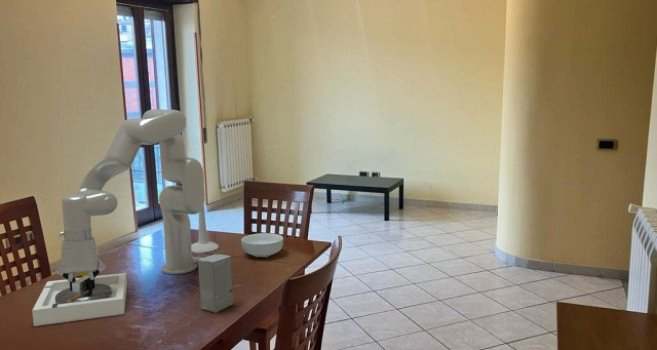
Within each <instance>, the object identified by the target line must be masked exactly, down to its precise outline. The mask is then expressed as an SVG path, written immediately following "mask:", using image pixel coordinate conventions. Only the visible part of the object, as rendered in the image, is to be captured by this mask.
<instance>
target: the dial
mask: <svg viewBox="0 0 657 350" xmlns="http://www.w3.org/2000/svg"><path fill="white" fill-rule="evenodd" d="M79 278H80V279H78V280H76V281H74V282H73V283H72V291H73V294H72V291H70V288H67V289H65V290H62V291H61V292H59V293H58V294H57V295H56V296H55V303H56V304H57V303H58V304H66V303H74V302H82V301H90V300H98V299H106V298H109V297H110V296H111V294H112V291H111V287H110V286H108V285H105V284H97V283H95V288H94V289H93V291H92V292H89V283H88V280H89V274H88V275H85V276H83V277H82V276H81V277H79Z"/></svg>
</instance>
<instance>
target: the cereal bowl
mask: <svg viewBox="0 0 657 350" xmlns="http://www.w3.org/2000/svg"><path fill="white" fill-rule="evenodd" d="M240 243H241V247H242V249H243V251H244V252H245V253H246V254H249V255H251V256H253V257H254V256H255V257H254V258H258V257H265V258H269V256H270V257H272V256H273V255H274V254H277V253H279V252H280V251H281V249H283V246H284V237H283V236H282V235H280V234H277V233H266V232H264V233H263V232H262V233H261V232H260V233H254V234H249V235H245V236H243V237H242V238H241V242H240ZM271 255H272V256H271Z"/></svg>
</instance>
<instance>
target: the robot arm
mask: <svg viewBox="0 0 657 350" xmlns="http://www.w3.org/2000/svg"><path fill="white" fill-rule="evenodd" d="M186 125H187V118H186V116H185V115H184V114H183V112H182V111H180V110H177V109H164V108H163V109H160V108H159V109H157V108H156V109H149V110H147V111H145V112H144V113H143V115H142V118H128V119H125V120H123V122H121V124H120V126H119V127H118V130H117V132H116V133H115V136H114V138H113V139H112V142H111V144H110V146H109V148H108V150H107V151H106V154H105V156H104V157H103V158H102V159H101V160H100V161H98V163H97V164H95V165H94V166H93V167H92V168H91V169H90V170H89V171H88V173H87V174H86V175H85V176H84V178H83V180H82V181H81V184H80V185H79V187H78V189H77V192H76V194H69V195H66V196H64V197H63V198H62V200H61V207H62V219H63V220H62V221H63V222H62V223H63V229H64V230H63V231H61V232H60V231H59V232H58V234H59V235H58V236H59V237H60V238H63V240H62V241H61V251H60V260H61V261H60V264H59V266H58V268H57V270H56V271H55V274H57V275H60V276H62V277H63V278H65V280H66V279H67V280H68V281H69V282H70V291H72V283H73V282H74V281H76V279H75V274H77V273H80V272H88V275H89V280H88V283H89V292H92V291H93V289H94V288H95V280H94V278H95V277H96V276H99V274H100V273H101V272H102V271H105V269H106V267H107V266H106V265H105V263H104V262H102V260H101V259H100V258H99V250H98V246H97V242H96V239H95V237H94V236H93V233H92V220H91V218H92V217H96V216H98V217H99V216H101V217H102V216H106V215H109V214H112V213H113V212H115V210H116V209H117V207H118V199H117V197H116V195H114V193H112V192H109V191H105V190H102V189H103V188H104V187H105V185H106V184H107V183H108V182H109V181H110V180H111V179H113V178H114V177H116V176H119V175H120V174H123V173H125V172H126V171H128V170H130V169H131V167H132V165H133V164H134V162H135V159H136V156H137V155H138V152H139V151H140V149H141V146H142V145H145V146H146V145H147V146H149V145H150V146H151V145H155V144H159V150H160V164H161V176H162V178H163V179H164V180H165V181H167V182H169V183H176V184H181V185H168V186H166V187H164V188H163V189H162V190H161V191H160V192H159V196H158V203H159V207H160V210H161V213H162V214H161V215H162V222H163V223H162V224H163V240H164V255H165V264H164V265H162V266H161V271H162V273H165V274H169V275H182V274H187V273H191V272H193V271H195V270H196V269H197V267H198V265H197V264H198V260H199V259H202V258H205V257H206V256H205V257H204V256H203V257H202V256H201V255H200V256H194V255H193V254H194V253H192V248H191V245H192V233H191V232H192V231H191V219H190V217H189V215H197V214H199V212H200V211H201V210H202V208H203V206H204V207H205V201H206V198H205V197H206V194H205V175H204V174H205V173H204V169H203V166H202V164H201V162H200V161H199V160H198V159H196V158H193V157H187V155H186V150H185V149H186V147H185V142H184V138H183V136H182V134H181V133H182V132H183V131H184V130H185V128H186ZM72 294H73V291H72Z"/></svg>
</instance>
